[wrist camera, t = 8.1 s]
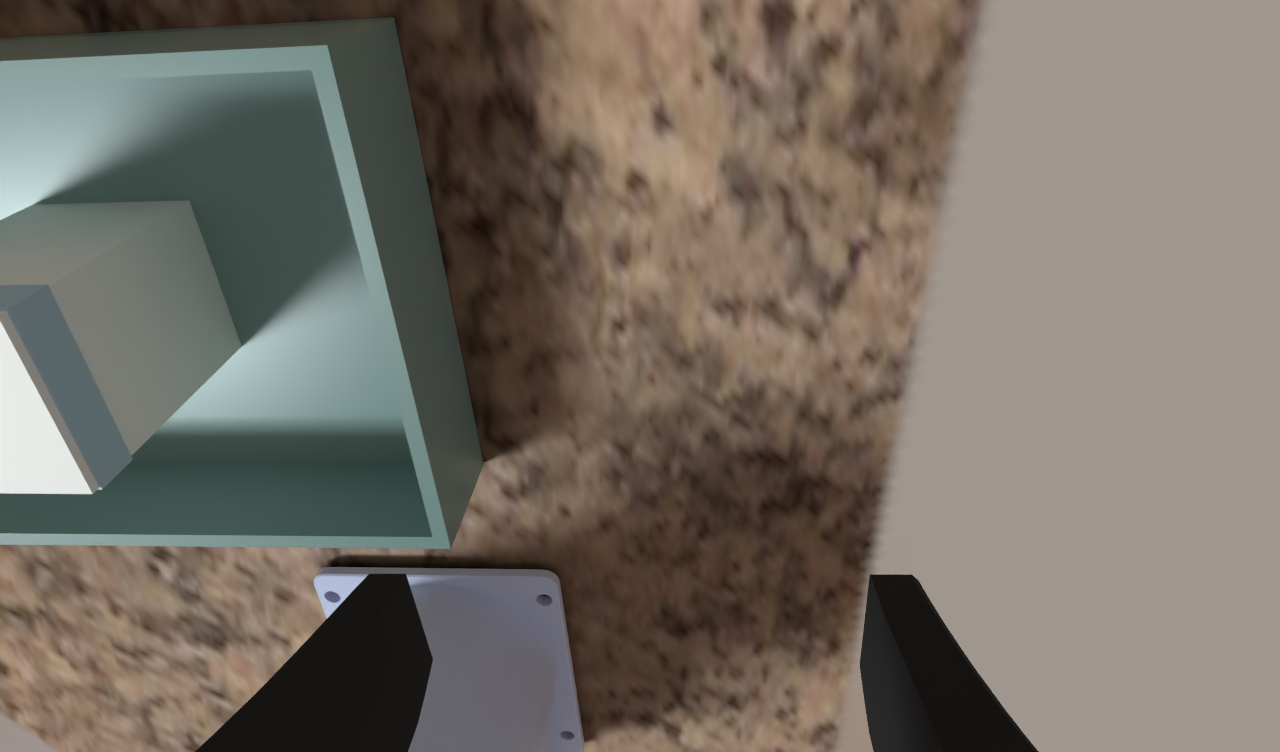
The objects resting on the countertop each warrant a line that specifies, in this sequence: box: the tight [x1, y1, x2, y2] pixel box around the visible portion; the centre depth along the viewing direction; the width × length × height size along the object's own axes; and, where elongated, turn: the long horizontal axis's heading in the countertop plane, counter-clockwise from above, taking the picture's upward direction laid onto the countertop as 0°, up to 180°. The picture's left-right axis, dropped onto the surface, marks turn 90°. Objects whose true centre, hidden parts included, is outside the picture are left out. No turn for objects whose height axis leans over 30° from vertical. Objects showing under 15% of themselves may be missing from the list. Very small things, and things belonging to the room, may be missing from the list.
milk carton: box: [0, 200, 242, 494], centre depth 18 cm, size 4×4×6 cm
